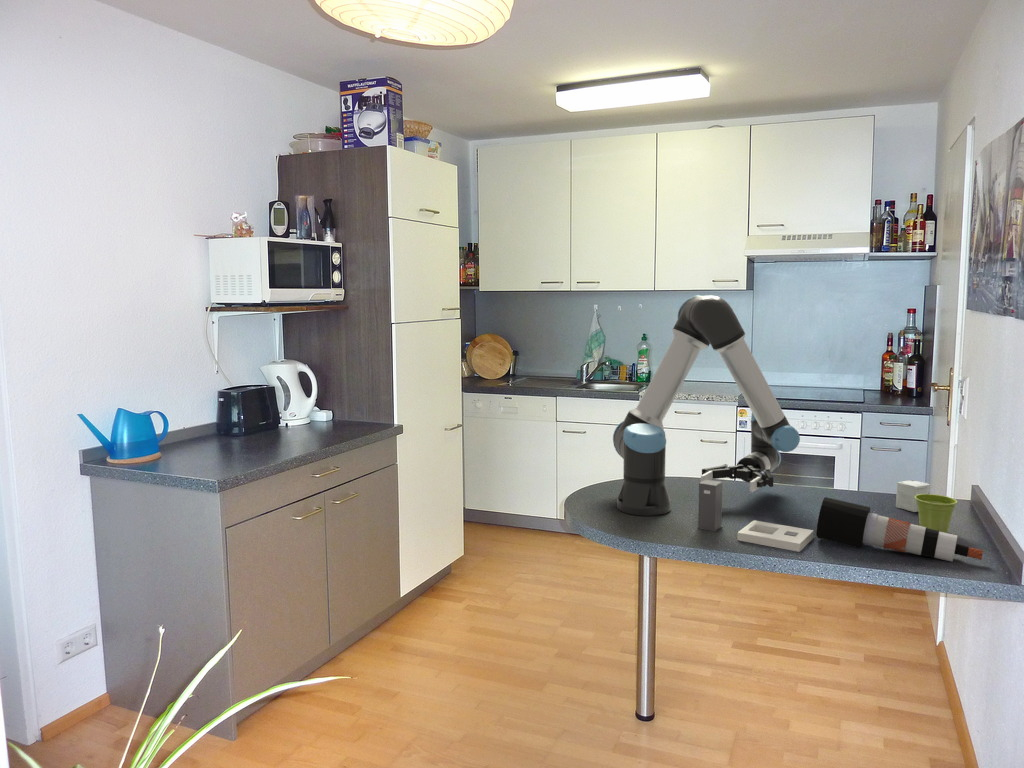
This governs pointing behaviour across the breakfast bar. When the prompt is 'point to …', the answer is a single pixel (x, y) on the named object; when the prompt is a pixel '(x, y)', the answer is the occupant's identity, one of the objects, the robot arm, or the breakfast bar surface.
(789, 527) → the white base plate
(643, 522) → the breakfast bar surface
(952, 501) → the plant pot
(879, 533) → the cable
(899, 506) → the skincare box
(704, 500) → the block
